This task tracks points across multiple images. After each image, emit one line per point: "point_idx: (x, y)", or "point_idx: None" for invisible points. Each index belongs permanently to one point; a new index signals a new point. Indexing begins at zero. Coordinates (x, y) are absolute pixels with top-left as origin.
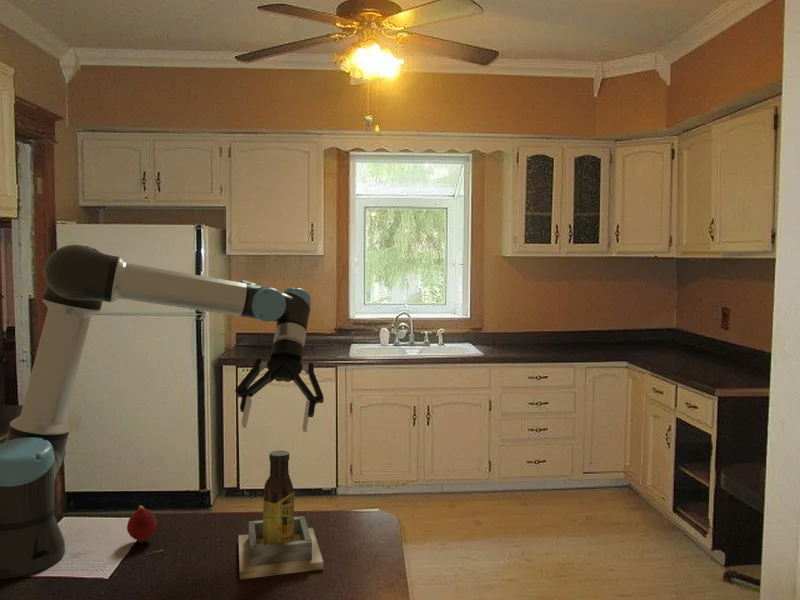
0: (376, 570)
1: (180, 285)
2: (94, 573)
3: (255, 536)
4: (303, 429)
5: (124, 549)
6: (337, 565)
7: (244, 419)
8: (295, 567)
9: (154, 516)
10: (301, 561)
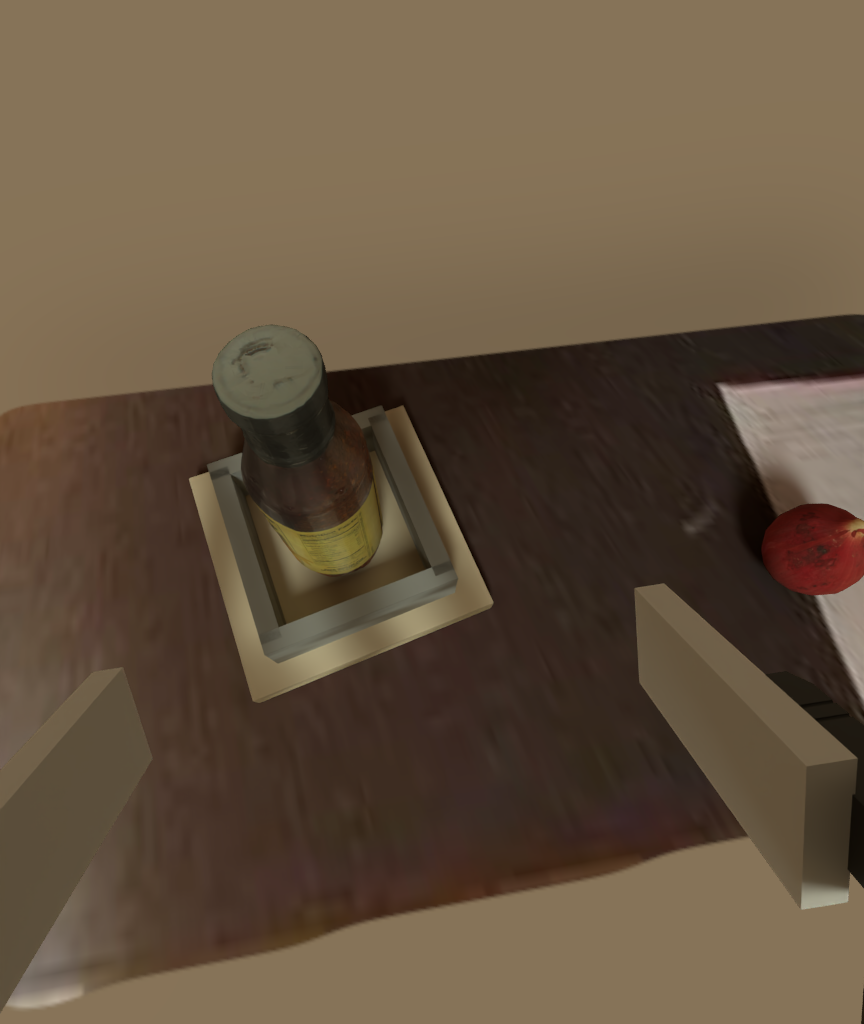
0: (45, 501)
1: None
2: (767, 399)
3: (394, 477)
4: (133, 715)
5: None
6: (158, 512)
7: (655, 599)
8: None
9: (800, 560)
10: None
